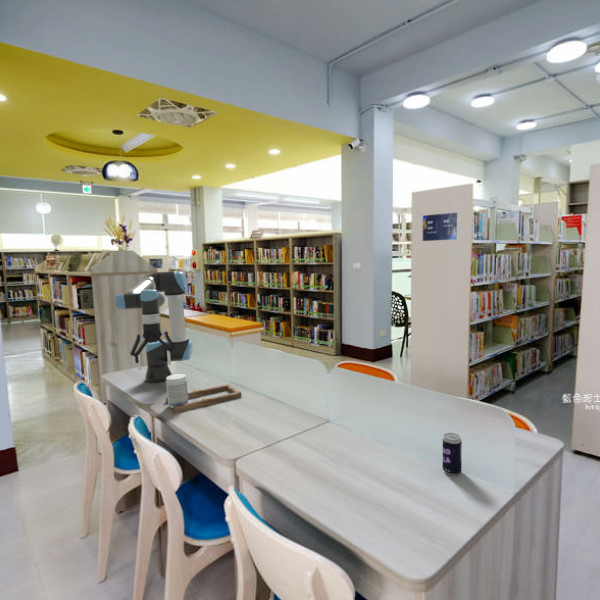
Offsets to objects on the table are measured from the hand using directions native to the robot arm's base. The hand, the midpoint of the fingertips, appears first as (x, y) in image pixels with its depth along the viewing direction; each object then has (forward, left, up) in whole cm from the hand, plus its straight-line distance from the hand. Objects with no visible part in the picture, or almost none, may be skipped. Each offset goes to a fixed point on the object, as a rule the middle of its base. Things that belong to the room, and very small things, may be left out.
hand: (154, 367), depth 188 cm
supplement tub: (0, +10, -22) cm, 23 cm away
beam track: (0, +22, -21) cm, 30 cm away
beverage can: (+115, +67, -21) cm, 134 cm away
